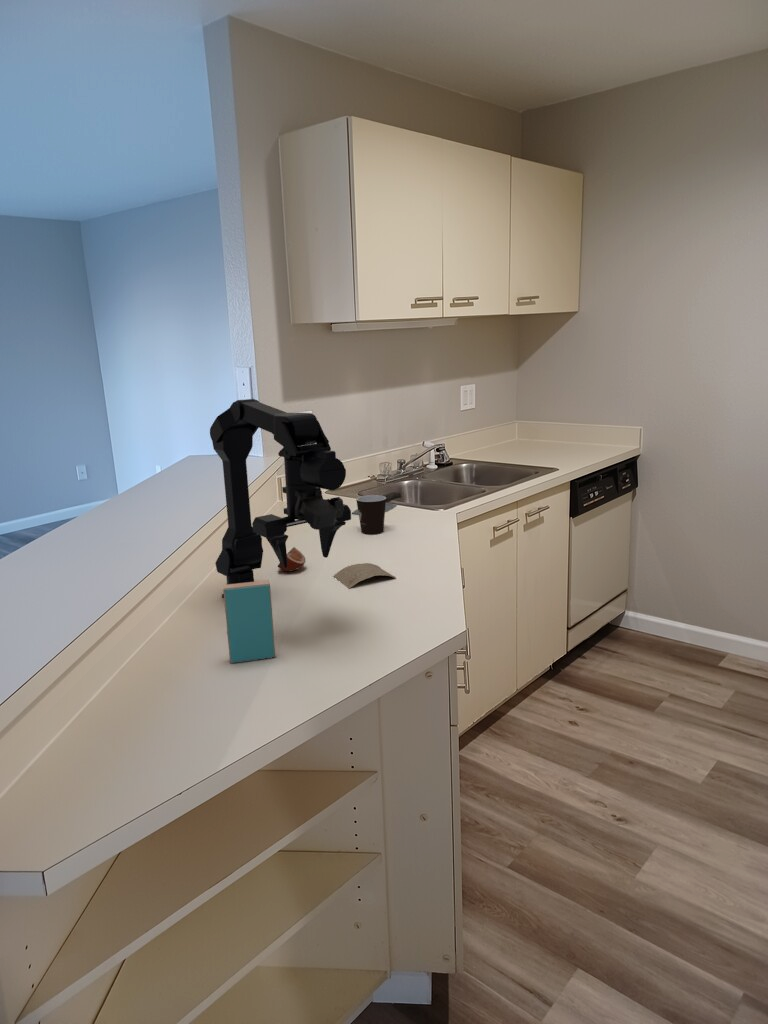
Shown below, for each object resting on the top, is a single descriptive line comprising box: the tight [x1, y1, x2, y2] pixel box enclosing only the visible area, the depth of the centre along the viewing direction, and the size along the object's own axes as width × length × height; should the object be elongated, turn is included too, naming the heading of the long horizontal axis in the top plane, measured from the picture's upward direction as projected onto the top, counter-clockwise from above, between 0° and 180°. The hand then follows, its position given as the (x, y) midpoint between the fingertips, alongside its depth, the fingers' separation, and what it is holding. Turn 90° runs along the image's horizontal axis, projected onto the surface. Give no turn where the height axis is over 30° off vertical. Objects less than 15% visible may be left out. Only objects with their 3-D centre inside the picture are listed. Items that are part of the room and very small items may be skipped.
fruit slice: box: [277, 546, 306, 572], centre depth 178 cm, size 8×7×5 cm
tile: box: [222, 579, 276, 664], centre depth 128 cm, size 2×8×14 cm, turn 104°
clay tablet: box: [332, 562, 397, 589], centre depth 171 cm, size 14×10×3 cm
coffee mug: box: [355, 494, 387, 536], centre depth 211 cm, size 12×9×10 cm
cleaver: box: [351, 491, 402, 516], centre depth 242 cm, size 29×10×2 cm, turn 155°
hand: (305, 562), depth 138 cm, fingers open, 9 cm apart
